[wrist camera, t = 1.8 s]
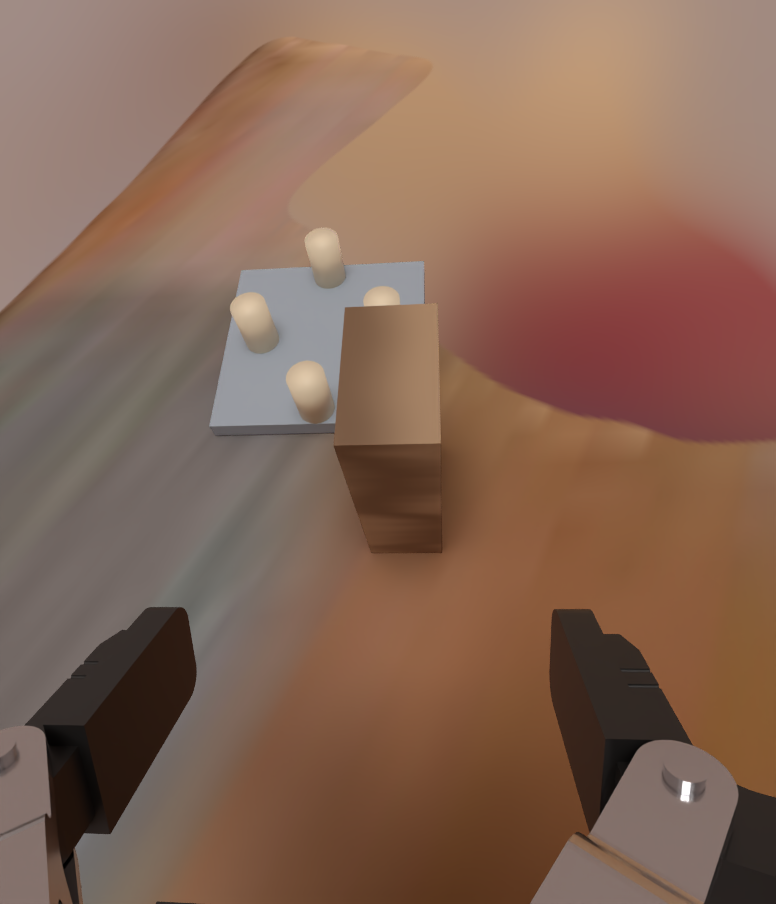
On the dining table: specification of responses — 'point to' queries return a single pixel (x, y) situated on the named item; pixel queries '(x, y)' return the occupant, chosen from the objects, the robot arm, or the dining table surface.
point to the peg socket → (299, 338)
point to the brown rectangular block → (392, 425)
